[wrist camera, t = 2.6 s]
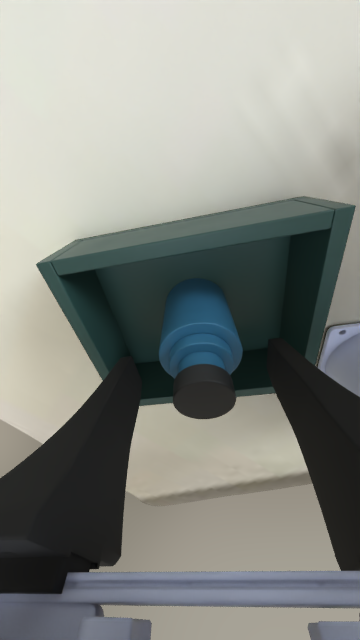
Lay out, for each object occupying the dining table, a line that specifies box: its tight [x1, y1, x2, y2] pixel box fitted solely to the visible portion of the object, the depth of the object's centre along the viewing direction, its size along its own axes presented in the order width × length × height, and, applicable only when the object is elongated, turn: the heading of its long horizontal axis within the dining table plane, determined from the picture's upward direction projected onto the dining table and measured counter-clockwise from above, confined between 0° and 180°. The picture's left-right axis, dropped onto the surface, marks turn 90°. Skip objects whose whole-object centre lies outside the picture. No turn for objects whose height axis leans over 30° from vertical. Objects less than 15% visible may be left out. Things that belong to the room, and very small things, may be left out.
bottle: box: [159, 278, 243, 419], centre depth 13 cm, size 5×5×8 cm
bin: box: [36, 196, 356, 406], centre depth 15 cm, size 15×12×5 cm
